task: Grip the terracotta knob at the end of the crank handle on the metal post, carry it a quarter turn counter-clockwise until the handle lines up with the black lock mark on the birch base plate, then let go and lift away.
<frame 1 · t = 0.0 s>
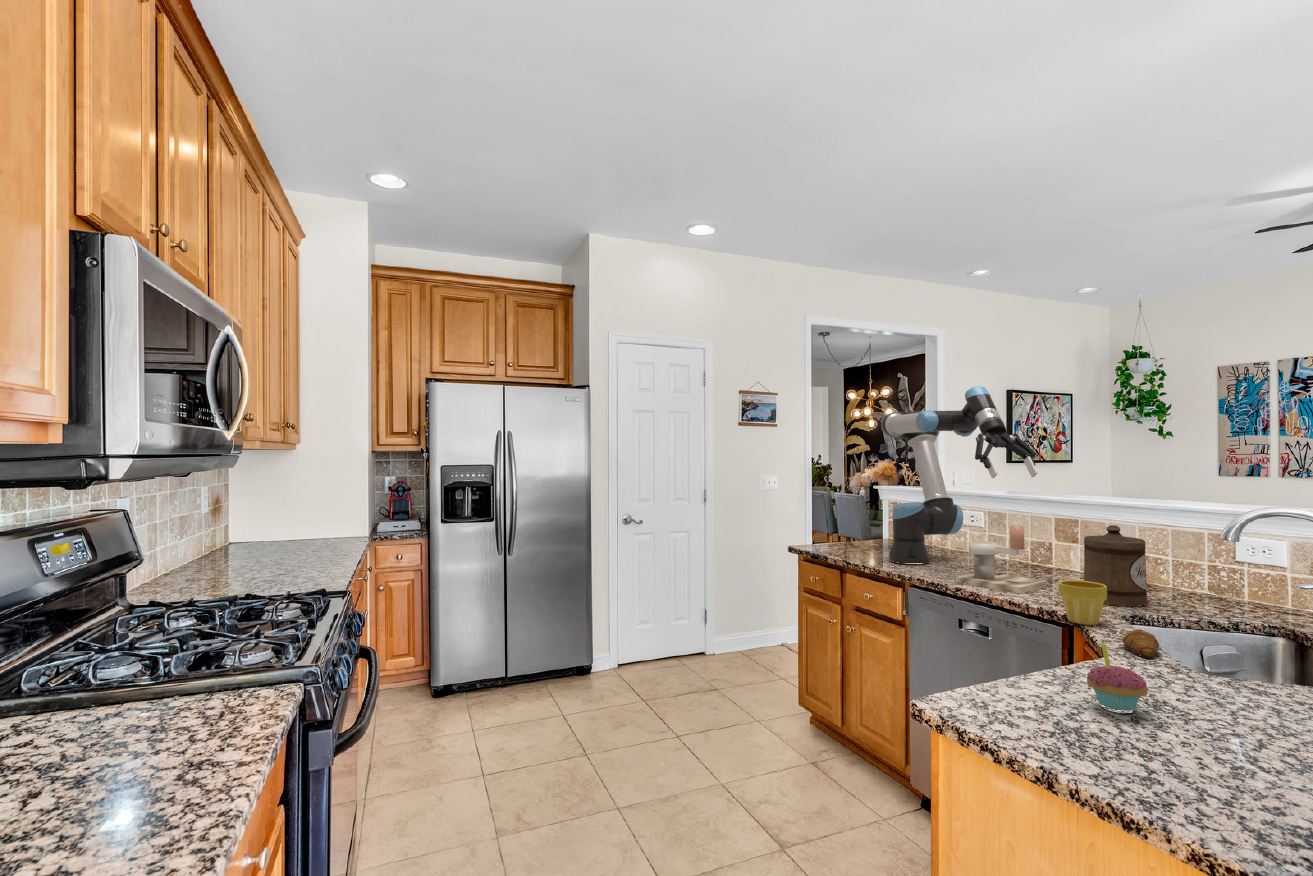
hand: (1014, 475, 207), 36 cm above the counter, tool tilted 35°, fingers open, 13 cm apart
crank handle: (996, 539, 207), point 15 cm above the counter, hinge at 0.0°
cupcake: (1117, 710, 110), on the counter
wooden container: (1115, 601, 185), on the counter
post base: (984, 583, 211), on the counter
plant pot: (1083, 622, 164), on the counter
croissant: (1140, 652, 141), on the counter
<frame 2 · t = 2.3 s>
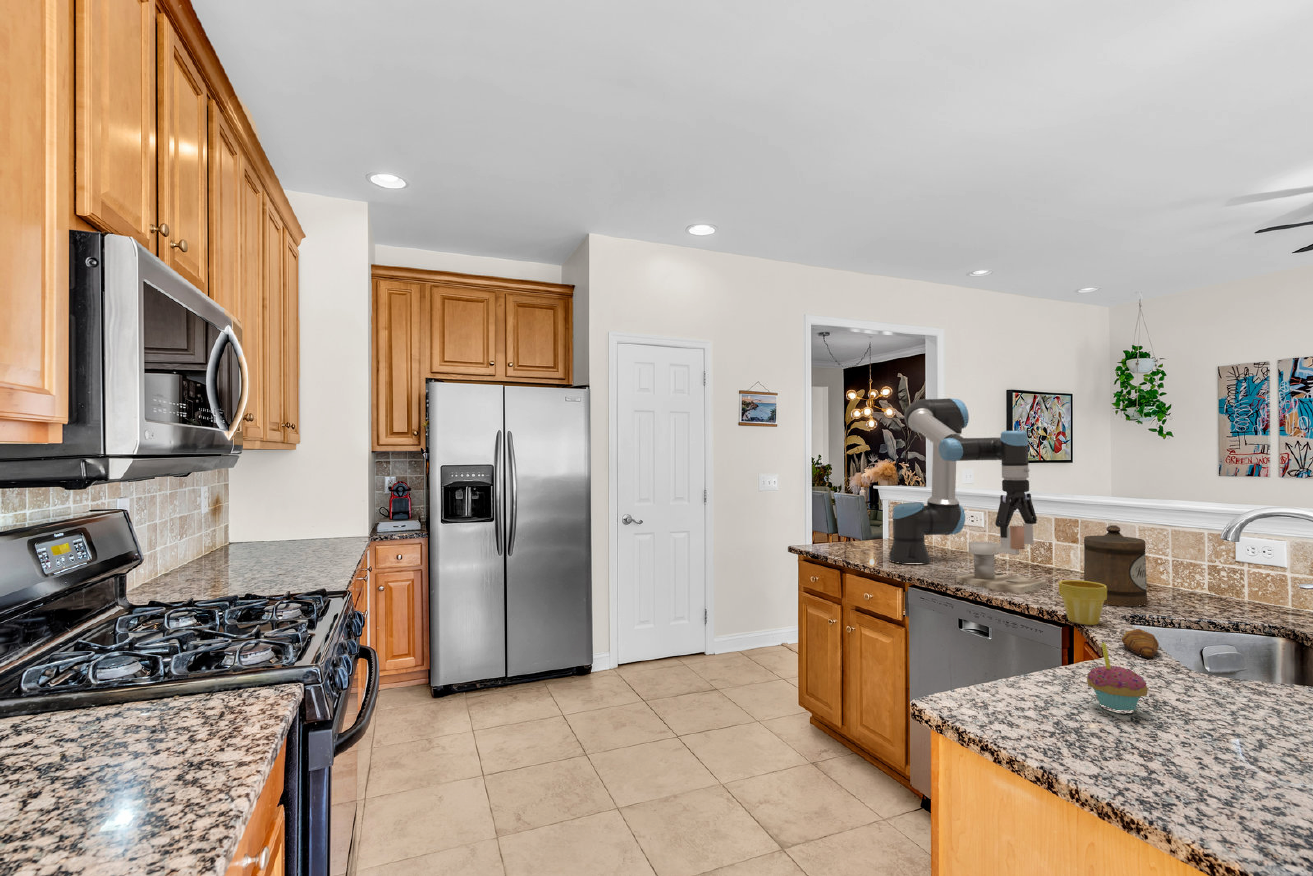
hand: (1017, 546, 202), 14 cm above the counter, tool pointing down, fingers open, 13 cm apart
nothing on the counter moved.
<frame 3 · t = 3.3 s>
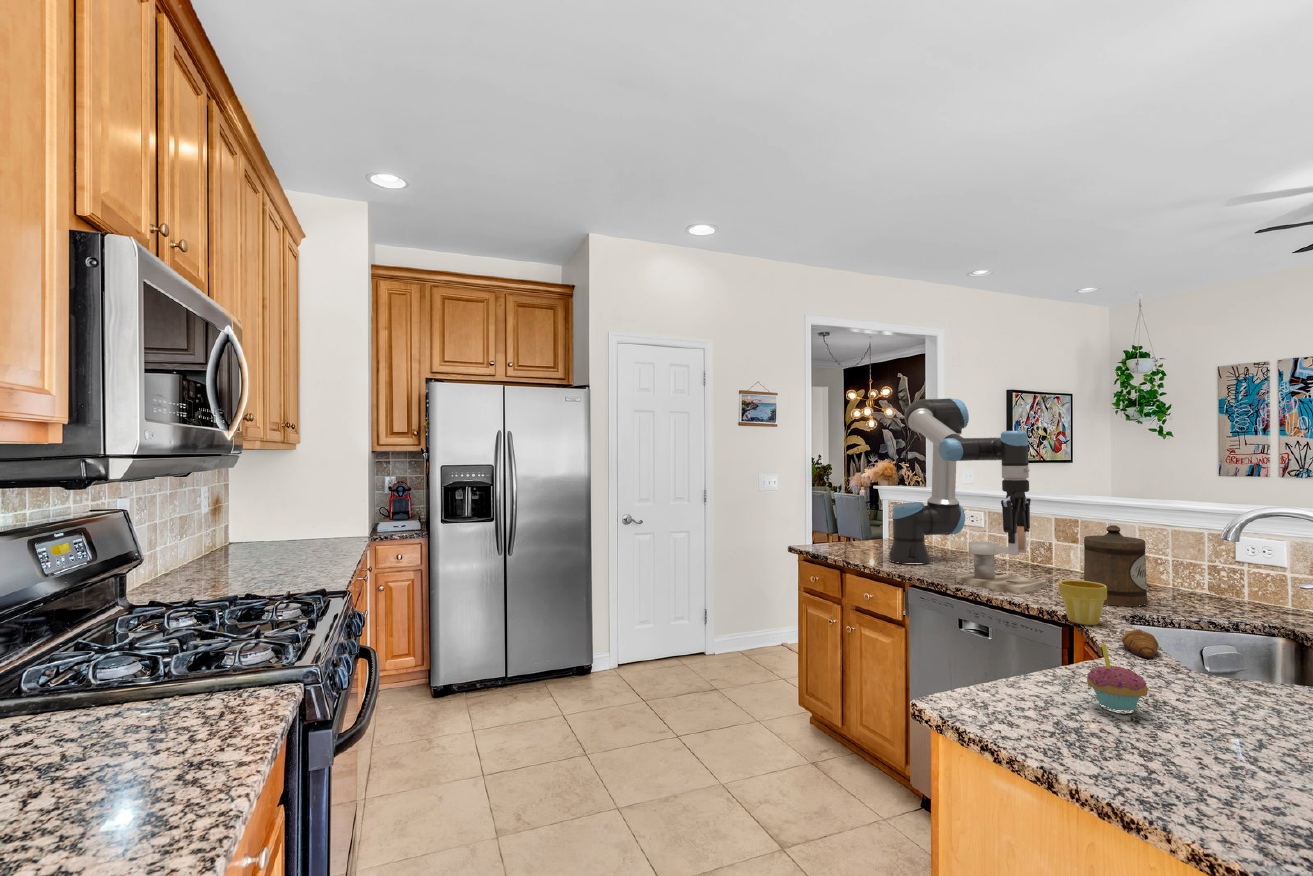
hand: (1017, 552, 202), 12 cm above the counter, tool pointing down, fingers closed on crank handle, 4 cm apart
crank handle: (996, 539, 207), point 15 cm above the counter, hinge at 0.0°, touching gripper
everything else where it was.
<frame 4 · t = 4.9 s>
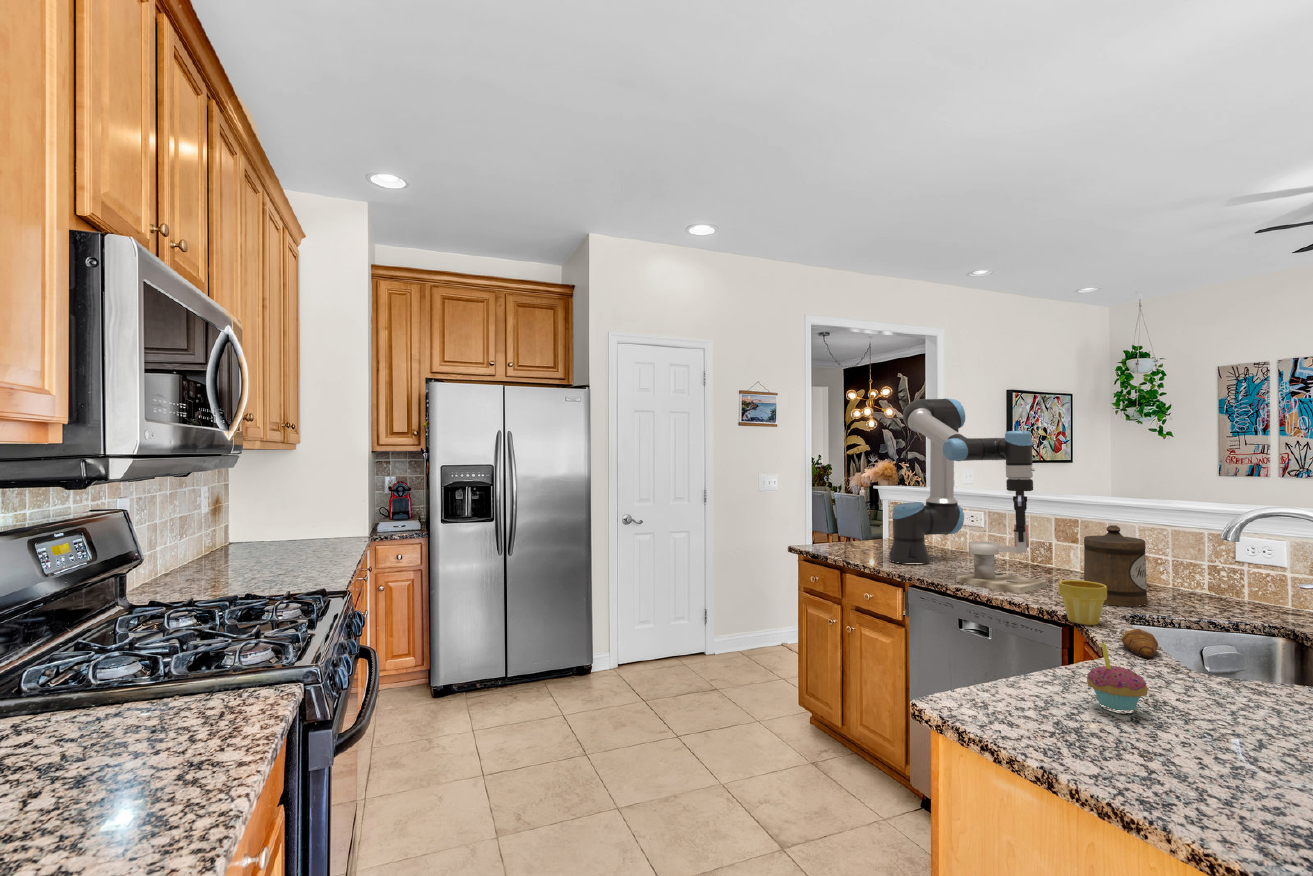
hand: (1021, 551, 205), 12 cm above the counter, tool pointing down, fingers closed on crank handle, 4 cm apart
crank handle: (997, 538, 209), point 15 cm above the counter, hinge at 23.7°, touching gripper
everything else where it was.
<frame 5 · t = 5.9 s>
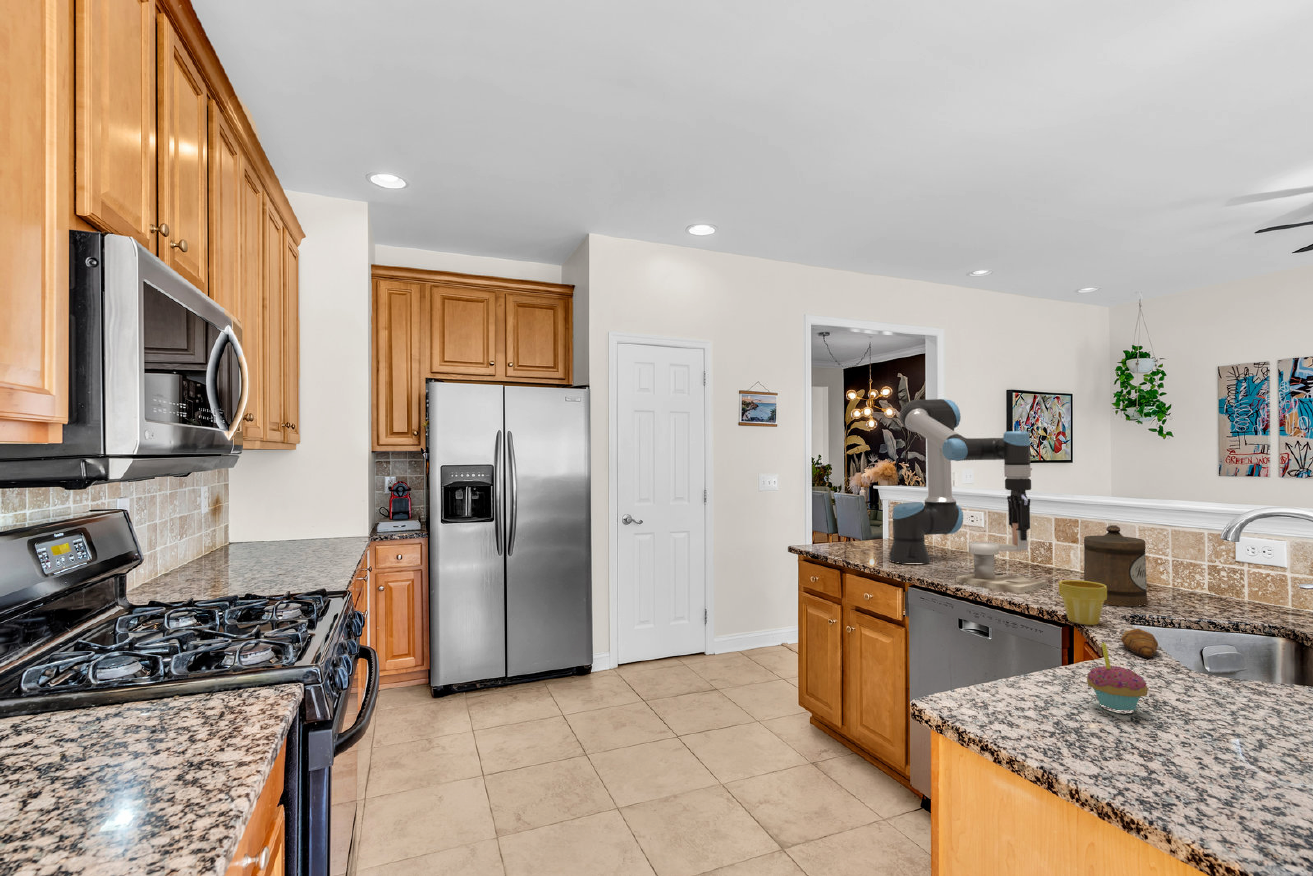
hand: (1019, 549, 209), 12 cm above the counter, tool pointing down, fingers closed on crank handle, 4 cm apart
crank handle: (997, 538, 210), point 15 cm above the counter, hinge at 45.2°, touching gripper
everything else where it was.
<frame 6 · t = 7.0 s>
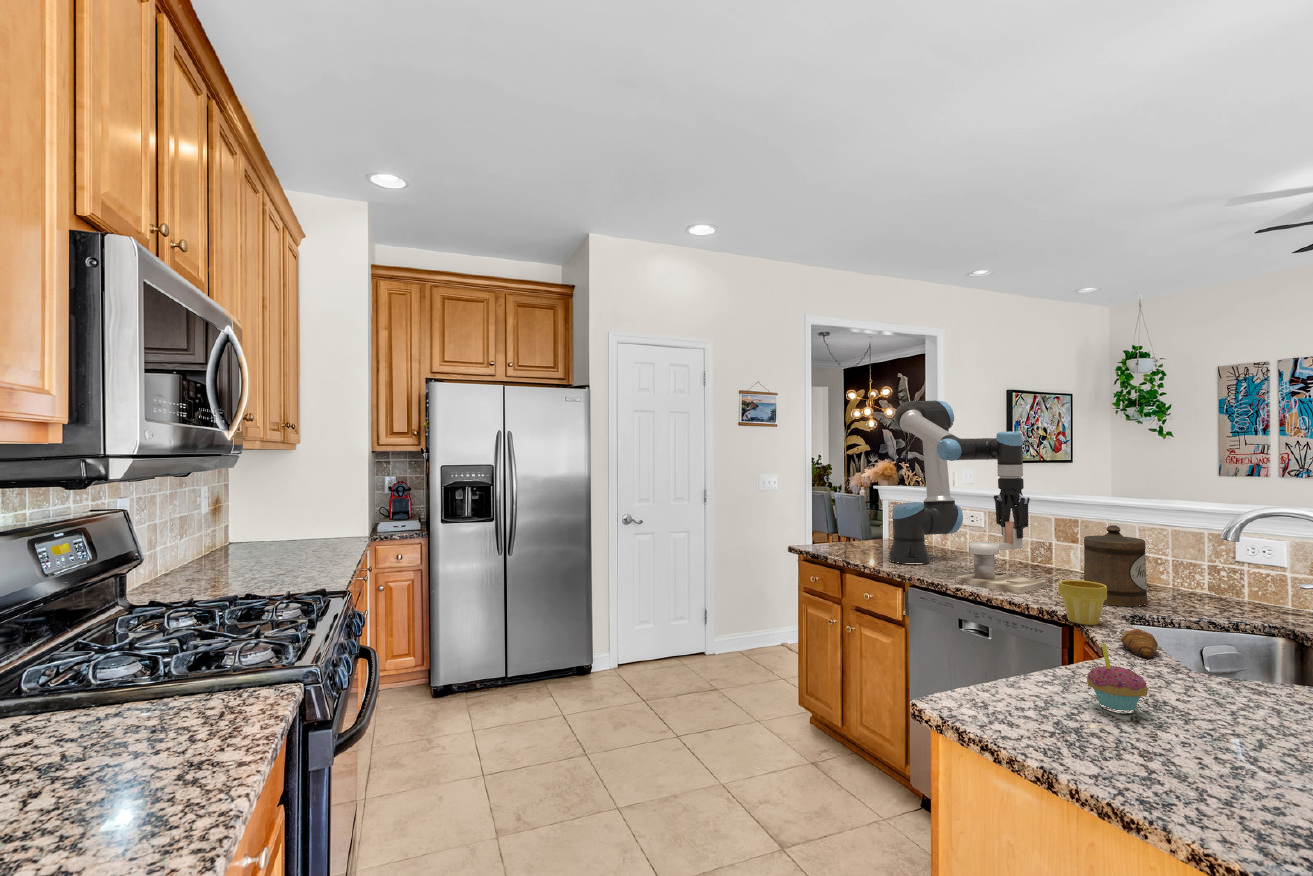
hand: (1012, 547, 213), 12 cm above the counter, tool pointing down, fingers closed on crank handle, 4 cm apart
crank handle: (994, 537, 212), point 15 cm above the counter, hinge at 68.2°, touching gripper
everything else where it was.
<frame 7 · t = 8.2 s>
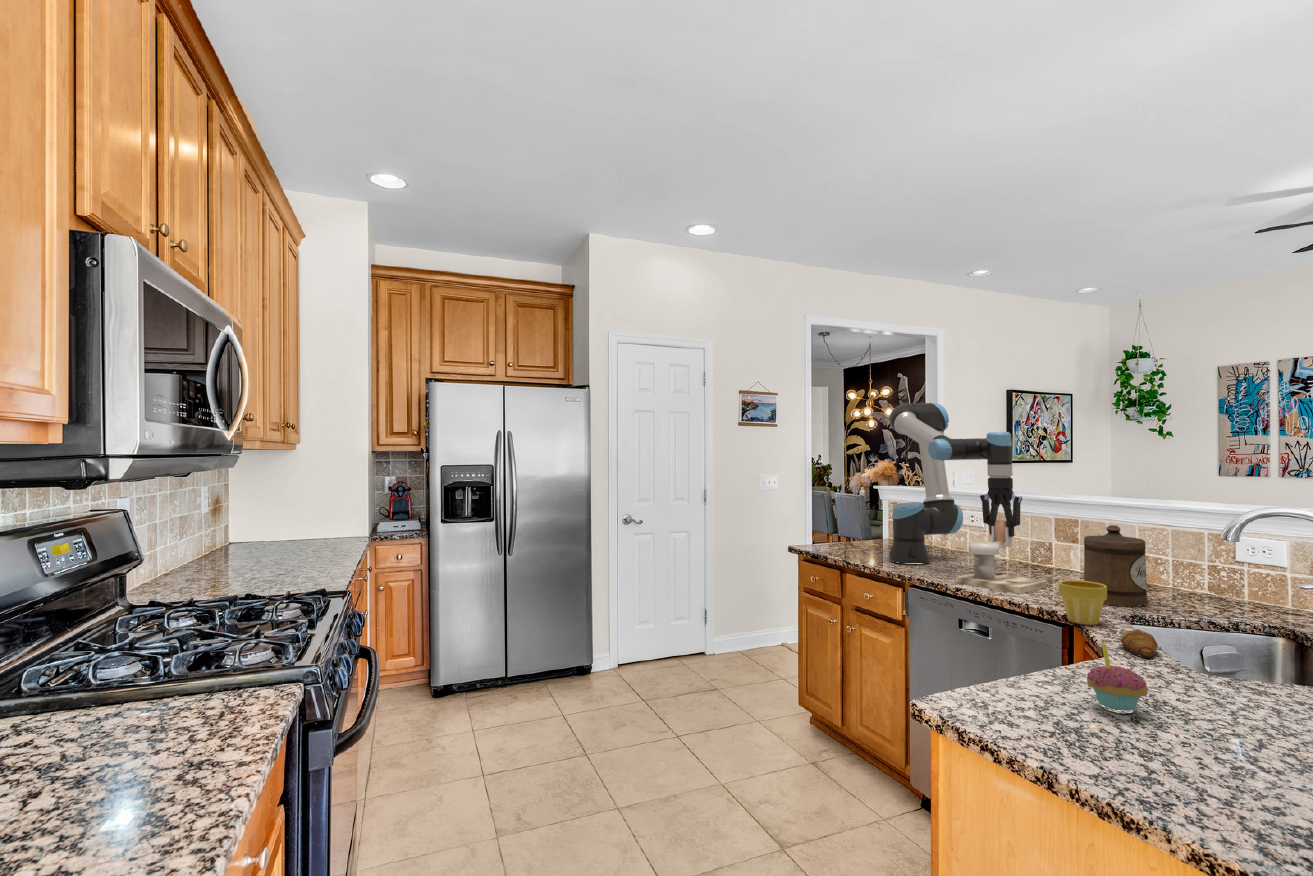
hand: (1002, 545, 217), 12 cm above the counter, tool pointing down, fingers closed on crank handle, 4 cm apart
crank handle: (990, 536, 213), point 15 cm above the counter, hinge at 89.7°, touching gripper
everything else where it was.
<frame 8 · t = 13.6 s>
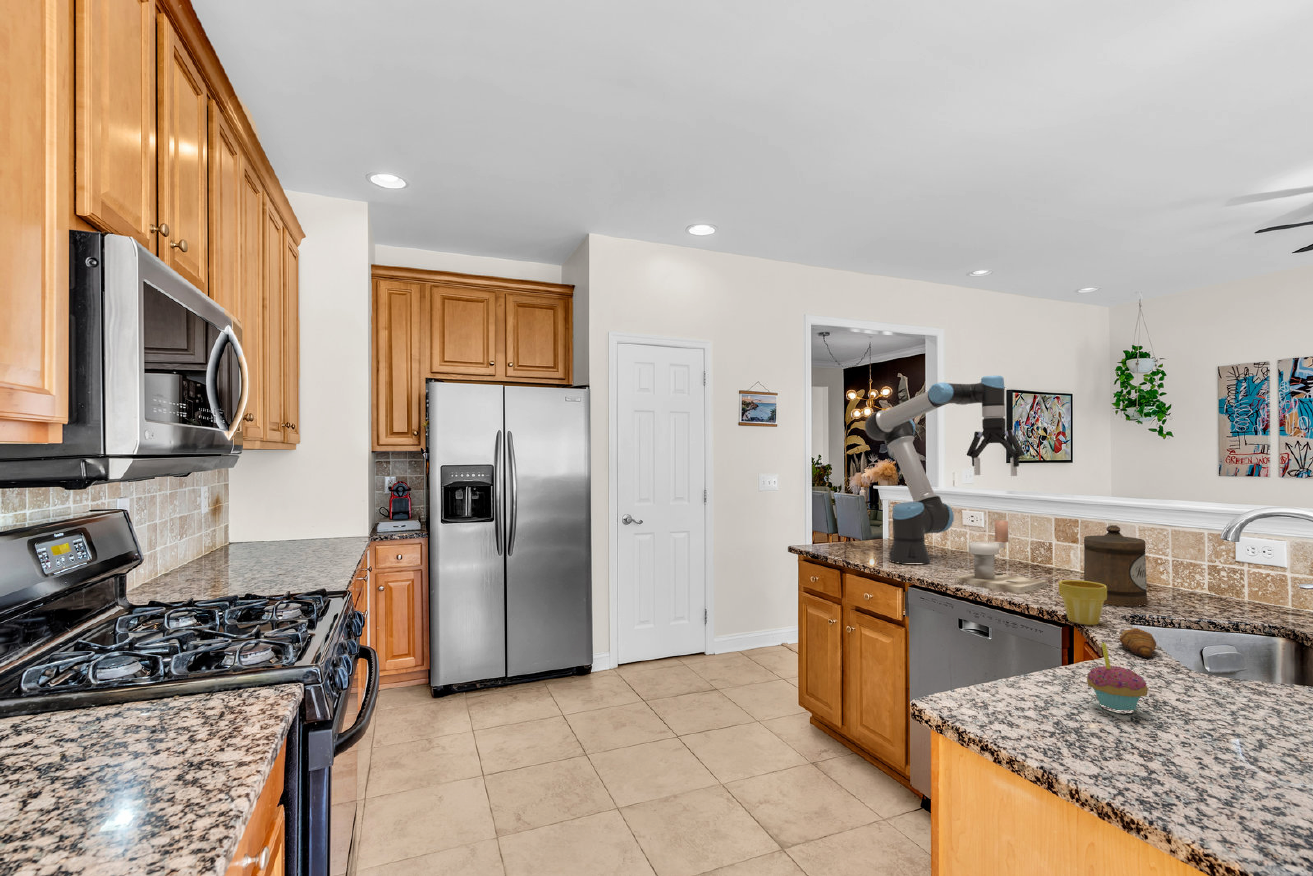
hand: (995, 475, 234), 35 cm above the counter, tool pointing down, fingers open, 13 cm apart
crank handle: (990, 536, 213), point 15 cm above the counter, hinge at 89.8°
everything else where it was.
at the end: crank handle at +90° (first picture: +0°); the gripper is holding nothing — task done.
